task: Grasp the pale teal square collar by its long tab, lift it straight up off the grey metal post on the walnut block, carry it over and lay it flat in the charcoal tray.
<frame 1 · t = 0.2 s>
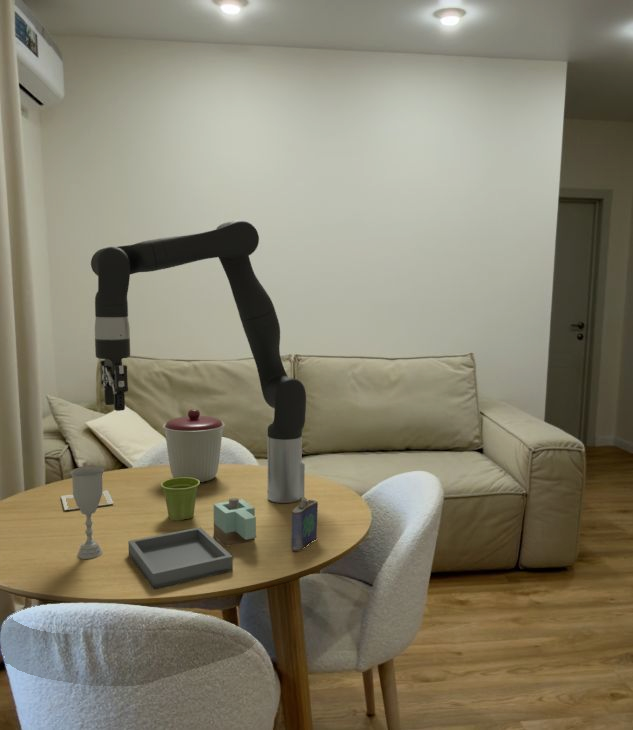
hand: (114, 407, 143), 29 cm above the table, tool pointing down, fingers open, 8 cm apart
brown peg stand: (234, 537, 142), on the table
canister: (194, 479, 187), on the table
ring: (234, 525, 141), point 3 cm above the table, touching brown peg stand
plant pot: (181, 517, 155), on the table
flask: (303, 545, 138), on the table
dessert: (87, 504, 165), on the table
tray: (179, 562, 128), on the table
chalice: (89, 554, 132), on the table
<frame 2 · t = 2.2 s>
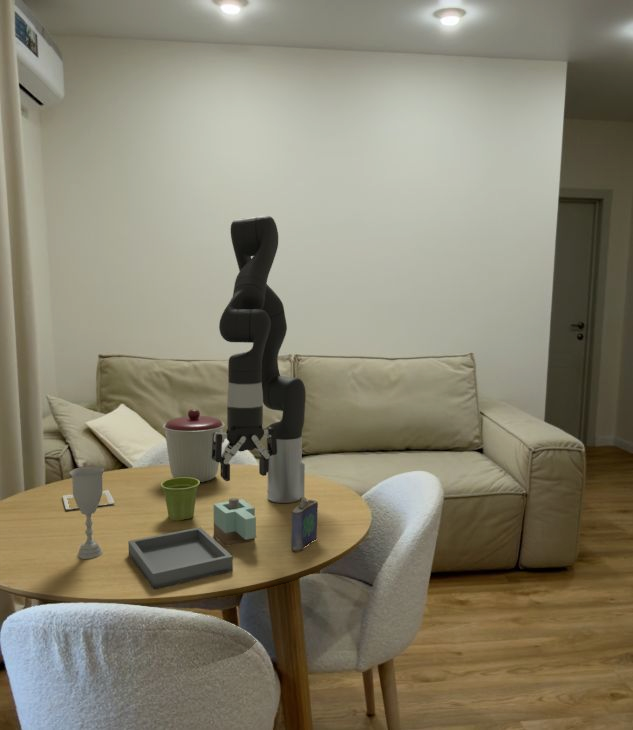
hand: (244, 477, 134), 16 cm above the table, tool pointing down, fingers open, 8 cm apart
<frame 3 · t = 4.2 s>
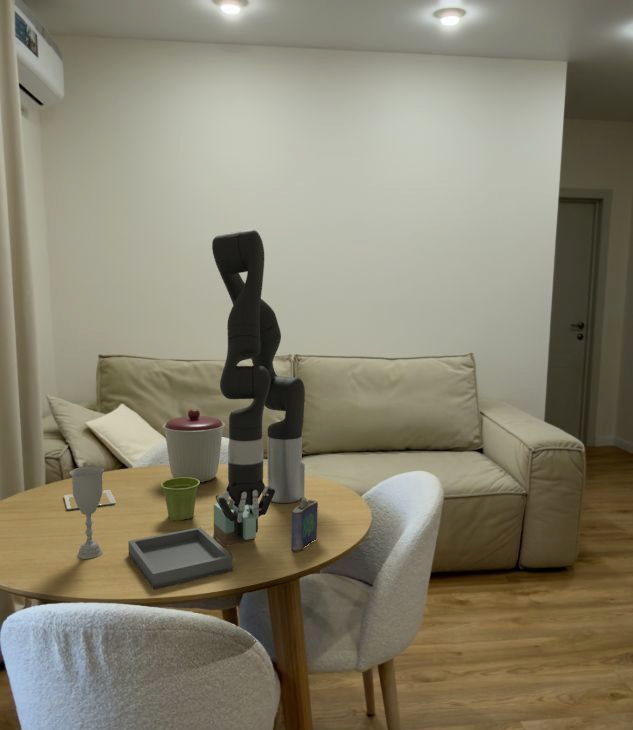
hand: (245, 535, 136), 3 cm above the table, tool pointing down, fingers closed on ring, 2 cm apart
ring: (234, 525, 141), point 3 cm above the table, touching gripper, brown peg stand
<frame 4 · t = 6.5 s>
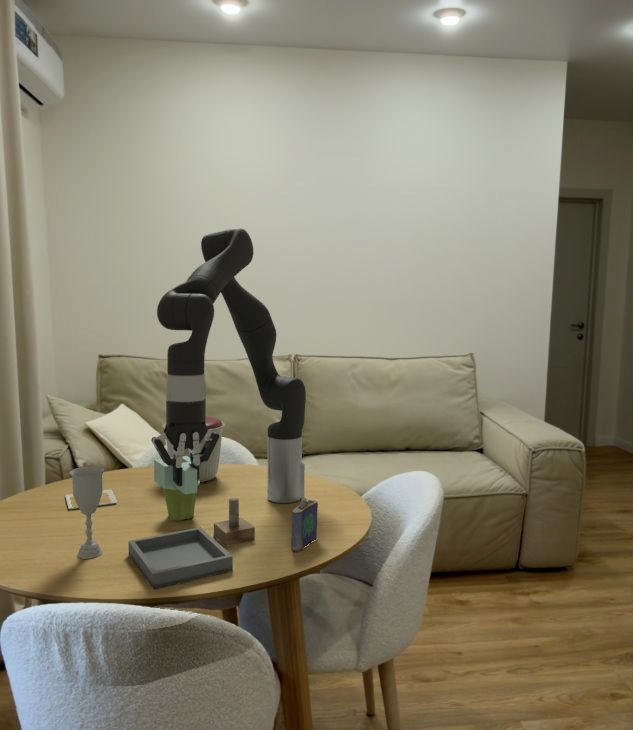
hand: (186, 483, 123), 18 cm above the table, tool pointing down, fingers closed on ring
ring: (176, 482, 128), point 16 cm above the table, touching gripper
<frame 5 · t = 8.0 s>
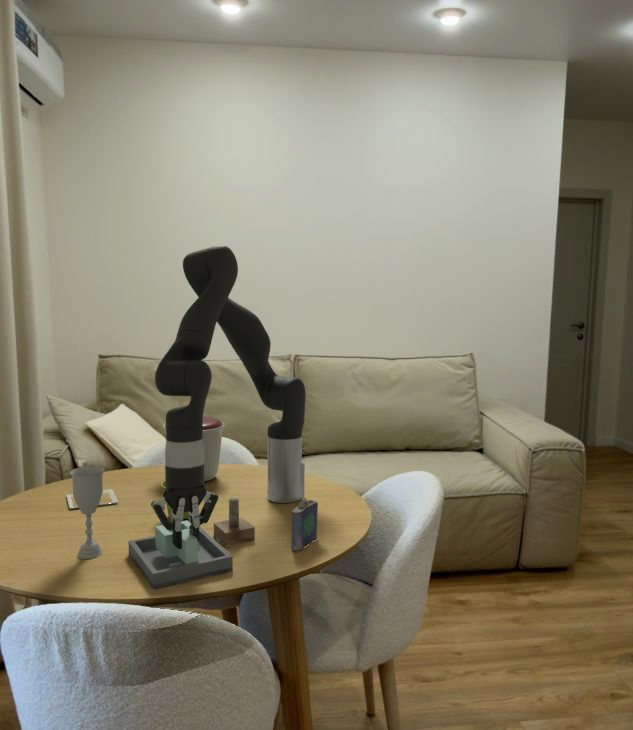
hand: (185, 545, 124), 5 cm above the table, tool pointing down, fingers closed on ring, 2 cm apart
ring: (177, 549, 129), point 3 cm above the table, touching gripper
when the fingers open (3 cm above the table, at t = 8.8 s): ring stays where it is, resting on tray.
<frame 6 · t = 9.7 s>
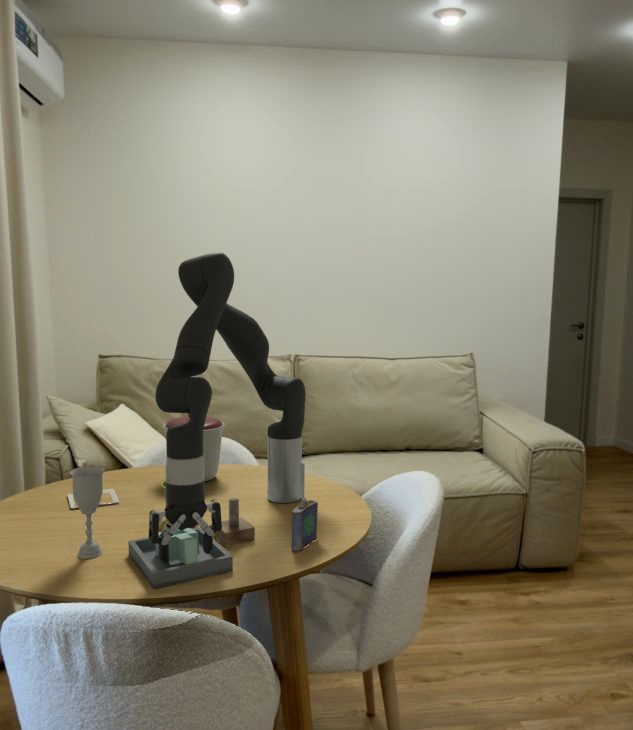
hand: (186, 556, 124), 3 cm above the table, tool pointing down, fingers open, 8 cm apart
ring: (177, 554, 129), point 1 cm above the table, tilted 10°, touching tray
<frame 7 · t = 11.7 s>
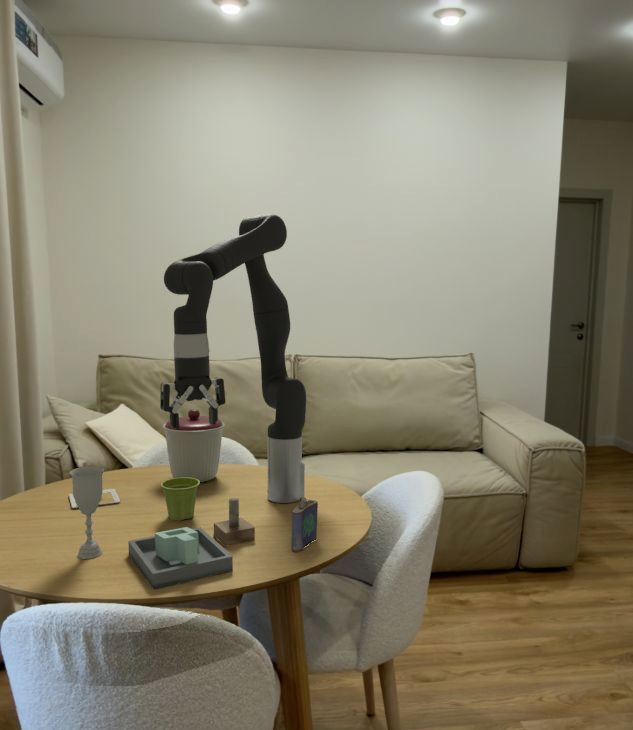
hand: (194, 426, 138), 26 cm above the table, tool pointing down, fingers open, 8 cm apart
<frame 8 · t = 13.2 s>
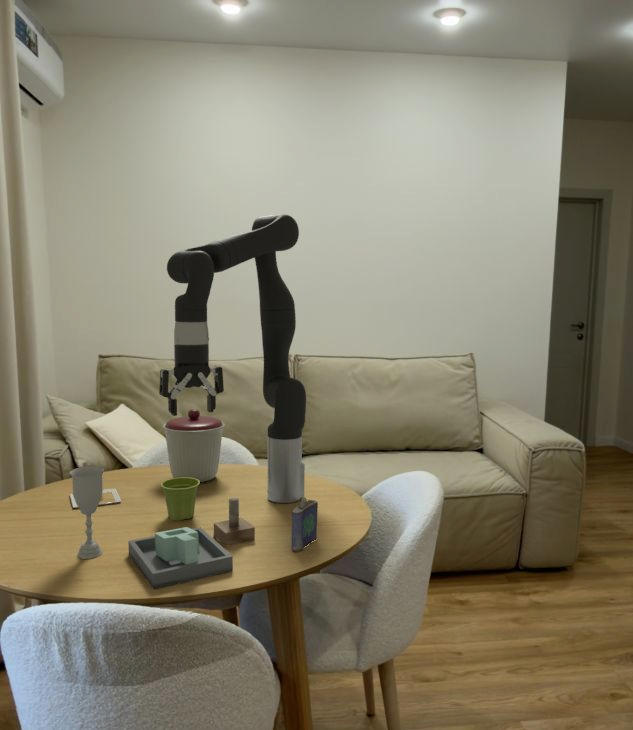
hand: (192, 413, 141), 28 cm above the table, tool pointing down, fingers open, 8 cm apart
at the end: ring inside the target area on the tray (0.2 cm from its centre), point 1.4 cm above the tray's base; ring tilted 10°; the gripper is holding nothing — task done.
